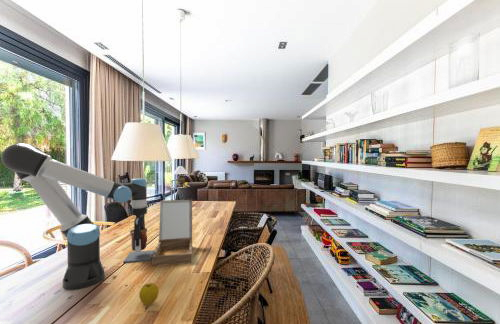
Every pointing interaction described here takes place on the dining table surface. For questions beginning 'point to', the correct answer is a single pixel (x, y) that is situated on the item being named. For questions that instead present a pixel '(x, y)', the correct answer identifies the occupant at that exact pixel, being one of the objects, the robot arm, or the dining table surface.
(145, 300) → the apple
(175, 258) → the shallow wooden tray
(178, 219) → the lid
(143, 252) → the slate mat
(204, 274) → the dining table surface
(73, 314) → the dining table surface
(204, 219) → the dining table surface
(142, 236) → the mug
